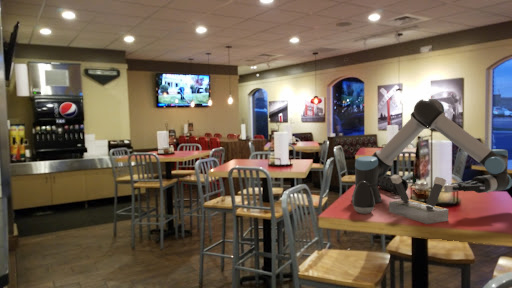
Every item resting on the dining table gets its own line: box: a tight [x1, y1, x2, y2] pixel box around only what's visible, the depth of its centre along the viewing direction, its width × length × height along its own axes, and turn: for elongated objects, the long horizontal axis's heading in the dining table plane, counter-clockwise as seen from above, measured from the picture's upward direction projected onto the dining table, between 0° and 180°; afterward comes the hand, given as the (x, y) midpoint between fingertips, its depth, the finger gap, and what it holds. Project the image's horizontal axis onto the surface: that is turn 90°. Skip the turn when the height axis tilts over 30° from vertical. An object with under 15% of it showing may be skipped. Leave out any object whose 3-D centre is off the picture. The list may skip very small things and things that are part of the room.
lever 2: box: [426, 176, 447, 209], centre depth 170 cm, size 4×3×14 cm
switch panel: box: [388, 198, 449, 225], centre depth 176 cm, size 23×12×5 cm, turn 22°
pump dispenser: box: [352, 181, 376, 215], centre depth 184 cm, size 10×10×15 cm
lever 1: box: [390, 174, 410, 203], centre depth 180 cm, size 4×3×14 cm
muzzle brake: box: [378, 173, 409, 196], centre depth 233 cm, size 10×28×10 cm, turn 8°
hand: (445, 188), depth 172 cm, fingers closed
